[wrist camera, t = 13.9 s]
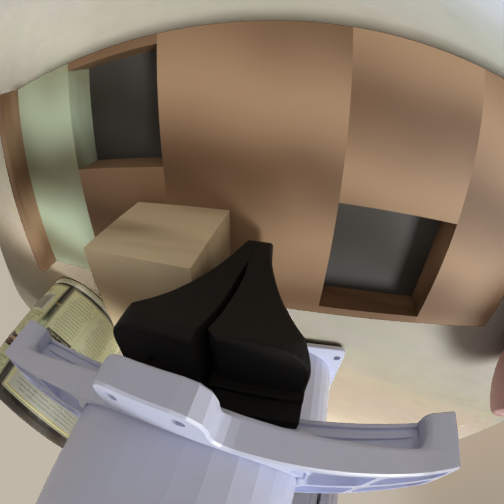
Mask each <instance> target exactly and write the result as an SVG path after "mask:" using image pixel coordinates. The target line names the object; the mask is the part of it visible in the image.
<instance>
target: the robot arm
mask: <svg viewBox="0 0 504 504" xmlns="http://www.w3.org/2000/svg"><path fill="white" fill-rule="evenodd" d="M272 257H273V245H272V244H271V243H267V242H260V241H252V240H248V241H247V242H246V243H244V244H243V245H242V246H241V247H240V248H239V249H238V250H236V251H235V252H234V253H233V254H232V255H231V256H229V257H228V258H227V259H226V260H224V261H223V262H222V263H221V264H219V265H218V266H216V267H215V268H214V269H212V270H211V271H209V272H208V273H206V274H205V275H203V276H201V277H199V278H198V279H196V280H194V281H192V282H190V283H188V284H186V285H184V286H181V287H179V288H177V289H175V290H172V291H170V292H167V293H164V294H161V295H158V296H155V297H152V298H148V299H144V300H140V301H136V302H132V303H131V304H130V305H129V306H128V308H127V309H126V310H125V312H124V313H123V315H122V316H121V317H120V319H119V320H118V322H117V323H116V325H115V326H114V328H113V335H114V338H115V340H116V342H117V344H118V346H119V348H120V350H121V352H122V354H123V356H120V355H116V354H110V355H109V356H107V357H106V358H105V360H104V362H103V363H100V362H98V361H95V360H93V359H91V358H89V357H87V356H85V355H83V354H81V353H79V352H77V351H75V350H73V349H71V348H69V347H67V346H65V345H63V344H61V343H59V342H58V341H56V340H54V339H52V336H51V335H50V333H49V332H48V330H47V329H46V328H45V327H44V326H42V325H41V324H39V323H37V322H35V321H34V320H30V321H29V322H28V323H27V325H26V326H25V327H24V328H23V329H22V331H21V332H20V333H19V334H18V336H17V337H16V338H15V339H14V341H13V342H12V343H11V345H10V346H9V347H8V348H7V350H6V351H5V354H6V355H7V357H8V358H9V359H10V360H11V361H12V363H13V364H14V365H15V366H16V367H17V368H18V370H19V371H20V372H21V373H22V374H23V375H24V376H25V377H26V378H27V380H28V381H29V382H30V383H32V384H33V385H34V386H35V387H37V388H38V389H39V390H41V391H42V392H43V393H45V394H46V395H47V396H48V397H50V398H51V399H53V400H54V401H55V402H57V403H58V404H59V405H61V406H62V407H64V408H65V409H66V410H68V411H69V412H71V413H72V414H74V415H75V416H77V417H78V418H79V419H78V421H77V423H76V425H75V426H74V428H73V430H72V432H71V434H70V435H69V437H68V439H67V441H66V443H65V445H64V447H63V449H62V451H61V452H60V454H59V456H58V458H57V460H56V463H55V464H54V466H53V468H52V470H51V472H50V474H49V477H48V478H47V481H46V483H45V485H44V487H43V489H42V491H41V493H40V496H39V498H38V500H37V502H36V504H337V498H338V493H354V492H368V491H379V490H388V489H396V488H403V487H410V486H417V485H423V484H426V483H429V482H431V481H433V480H436V479H438V478H440V477H443V476H445V475H447V474H449V473H451V472H453V471H456V470H458V469H459V468H460V453H459V452H460V451H459V439H458V430H457V421H456V414H455V412H443V413H433V414H429V415H427V416H425V417H423V418H422V419H421V420H420V421H419V422H418V423H409V424H354V423H336V422H326V420H327V410H328V399H329V387H330V385H331V383H332V381H333V379H334V377H335V375H336V373H337V371H338V369H339V366H340V364H341V362H342V360H343V358H344V355H345V349H344V348H343V347H338V346H329V345H321V344H313V343H306V339H305V338H304V337H303V335H302V334H301V333H300V331H299V330H298V328H297V327H296V325H295V324H294V322H293V320H292V319H291V317H290V315H289V313H288V311H287V309H286V307H285V306H284V303H283V301H282V299H281V296H280V293H279V291H278V288H277V284H276V281H275V277H274V272H273V266H272Z"/></svg>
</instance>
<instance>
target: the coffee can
mask: <svg viewBox="0 0 504 504" xmlns="http://www.w3.org/2000/svg"><path fill="white" fill-rule="evenodd" d="M30 320H34V321H35V322H37V323H39V324H41V325H42V326H44V327H45V328H46V329H47V330H48V332H49V333H50V335H51V336H52V339H54V340H56V341H58V342H59V343H61V344H63V345H65V346H67V347H69V348H71V349H73V350H75V351H77V352H79V353H81V354H83V355H85V356H87V357H89V358H91V359H93V360H95V361H98V362H100V363H103V362H104V360H105V358H106V357H107V356H109V355H110V354H116V355H117V354H118V352H119V351H120V348H119V346H118V344H117V342H116V340H115V338H114V335H113V328H114V325H113V323H112V321H111V319H110V316H109V314H108V312H107V309H106V307H105V305H104V302H103V301H102V300H101V299H100V298H99V297H98V296H97V295H95V294H94V293H93V292H91V291H90V290H89V289H88V288H86V287H85V286H83V285H82V284H80V283H78V282H76V281H74V280H71V279H67V278H62V279H59V280H57V281H56V282H55V284H54V285H53V286H52V287H51V289H50V290H49V291H48V292H47V293H46V294H45V295H44V296H43V297H42V298H41V299H40V300H39V301H38V302H37V304H36V305H35V306H34V307H33V308H32V309H31V310H30V312H29V313H28V314H27V315H26V316H25V317H24V318H23V320H22V321H21V322H20V323H19V325H18V326H17V327H16V328H15V330H14V331H13V332H12V333H11V334H10V335H9V337H8V338H7V339H6V341H5V342H4V343H3V345H2V346H1V347H0V400H2V401H3V402H4V403H5V404H6V405H7V406H8V407H9V408H10V409H11V410H12V411H13V412H14V413H16V414H17V415H18V416H19V417H20V418H22V419H23V420H24V421H25V422H26V423H28V424H29V425H30V426H31V427H33V428H34V429H35V430H36V431H38V432H40V434H42V435H43V436H45V437H46V438H47V439H49V440H50V441H52V442H53V443H55V444H56V445H58V446H60V447H62V448H63V447H64V445H65V443H66V441H67V439H68V437H69V435H70V434H71V432H72V430H73V428H74V426H75V425H76V423H77V421H78V419H79V418H78V417H77V416H75V415H74V414H72V413H71V412H69V411H68V410H66V409H65V408H64V407H62V406H61V405H59V404H58V403H57V402H55V401H54V400H53V399H51V398H50V397H48V396H47V395H46V394H45V393H43V392H42V391H41V390H39V389H38V388H37V387H35V386H34V385H33V384H32V383H30V382H29V381H28V380H27V378H26V377H25V376H24V375H23V374H22V373H21V372H20V371H19V370H18V368H17V367H16V366H15V365H14V364H13V363H12V361H11V360H10V359H9V358H8V357H7V355H6V354H5V351H6V350H7V348H8V347H9V346H10V345H11V343H12V342H13V341H14V339H15V338H16V337H17V336H18V334H19V333H20V332H21V331H22V329H23V328H24V327H25V326H26V325H27V323H28V322H29V321H30Z"/></svg>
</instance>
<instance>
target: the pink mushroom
mask: <svg viewBox="0 0 504 504" xmlns="http://www.w3.org/2000/svg"><path fill="white" fill-rule="evenodd" d="M490 408H491V412H492V413H493V414H495V415H498V416H504V349H503V351H502V353H501V355H500V358H499V360H498V363H497V366H496V368H495V372H494V376H493V380H492V385H491V393H490Z"/></svg>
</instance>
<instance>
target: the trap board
mask: <svg viewBox="0 0 504 504" xmlns="http://www.w3.org/2000/svg"><path fill="white" fill-rule="evenodd" d="M0 134H1V140H2V146H3V152H4V158H5V163H6V167H7V172H8V176H9V180H10V184H11V188H12V192H13V196H14V199H15V203H16V206H17V209H18V213H19V216H20V219H21V222H22V225H23V228H24V231H25V233H26V236H27V239H28V241H29V244H30V247H31V249H32V252H33V254H34V257H35V259H36V261H37V264H38V266H39V268H40V270H43V271H46V270H47V269H48V268H49V267H50V266H51V265H52V264H53V263H54V262H55V261H60V262H64V263H67V264H71V265H75V266H79V267H83V268H87V269H90V266H89V263H88V261H87V258H86V255H85V252H84V249H83V248H84V247H85V246H86V245H87V244H88V243H89V242H91V241H92V240H93V239H94V238H95V237H96V236H97V235H99V234H100V233H101V232H102V231H103V230H104V229H106V228H107V227H108V226H109V225H110V224H112V223H113V222H114V221H115V220H116V219H118V218H119V217H120V216H121V215H123V214H124V213H125V212H126V211H128V210H129V209H130V208H131V207H133V206H134V205H135V204H137V203H138V202H146V203H159V204H171V205H182V206H192V207H203V208H212V209H222V210H230V250H231V255H232V254H233V253H234V252H235V251H236V250H238V249H239V248H240V247H241V246H242V245H243V244H244V243H246V242H247V241H248V240H252V241H260V242H267V243H271V244H272V245H273V257H272V266H273V272H274V277H275V281H276V284H277V288H278V291H279V293H280V296H281V299H282V301H283V303H284V306H285V307H286V308H289V309H296V310H303V311H311V312H318V313H326V314H334V315H342V316H351V317H360V318H369V319H379V320H390V321H401V322H413V323H426V324H441V325H459V326H484V327H485V325H486V324H487V322H488V321H489V319H490V317H491V316H492V314H493V313H494V311H495V309H496V308H497V306H498V305H499V303H500V301H501V299H502V298H503V296H504V79H503V78H501V77H499V76H497V75H496V74H494V73H492V72H490V71H488V70H486V69H484V68H482V67H480V66H478V65H476V64H473V63H471V62H469V61H467V60H465V59H462V58H460V57H457V56H455V55H453V54H450V53H447V52H445V51H442V50H439V49H437V48H434V47H431V46H428V45H425V44H422V43H419V42H416V41H412V40H409V39H405V38H402V37H398V36H394V35H390V34H386V33H381V32H377V31H372V30H367V29H362V28H356V27H350V26H343V25H336V24H327V23H317V22H303V21H241V22H228V23H217V24H209V25H201V26H194V27H188V28H182V29H177V30H172V31H167V32H162V33H158V34H154V35H149V36H146V37H142V38H138V39H134V40H131V41H127V42H124V43H121V44H118V45H115V46H112V47H109V48H106V49H103V50H100V51H97V52H95V53H92V54H90V55H87V56H84V57H82V58H80V59H77V60H75V61H73V62H70V63H68V64H66V65H64V66H61V67H59V68H57V69H55V70H53V71H51V72H49V73H47V74H45V75H43V76H41V77H39V78H37V79H36V80H34V81H32V82H30V83H28V84H27V85H25V86H23V87H22V88H20V89H18V90H15V91H12V92H8V93H5V94H2V95H0ZM90 270H91V269H90Z"/></svg>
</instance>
